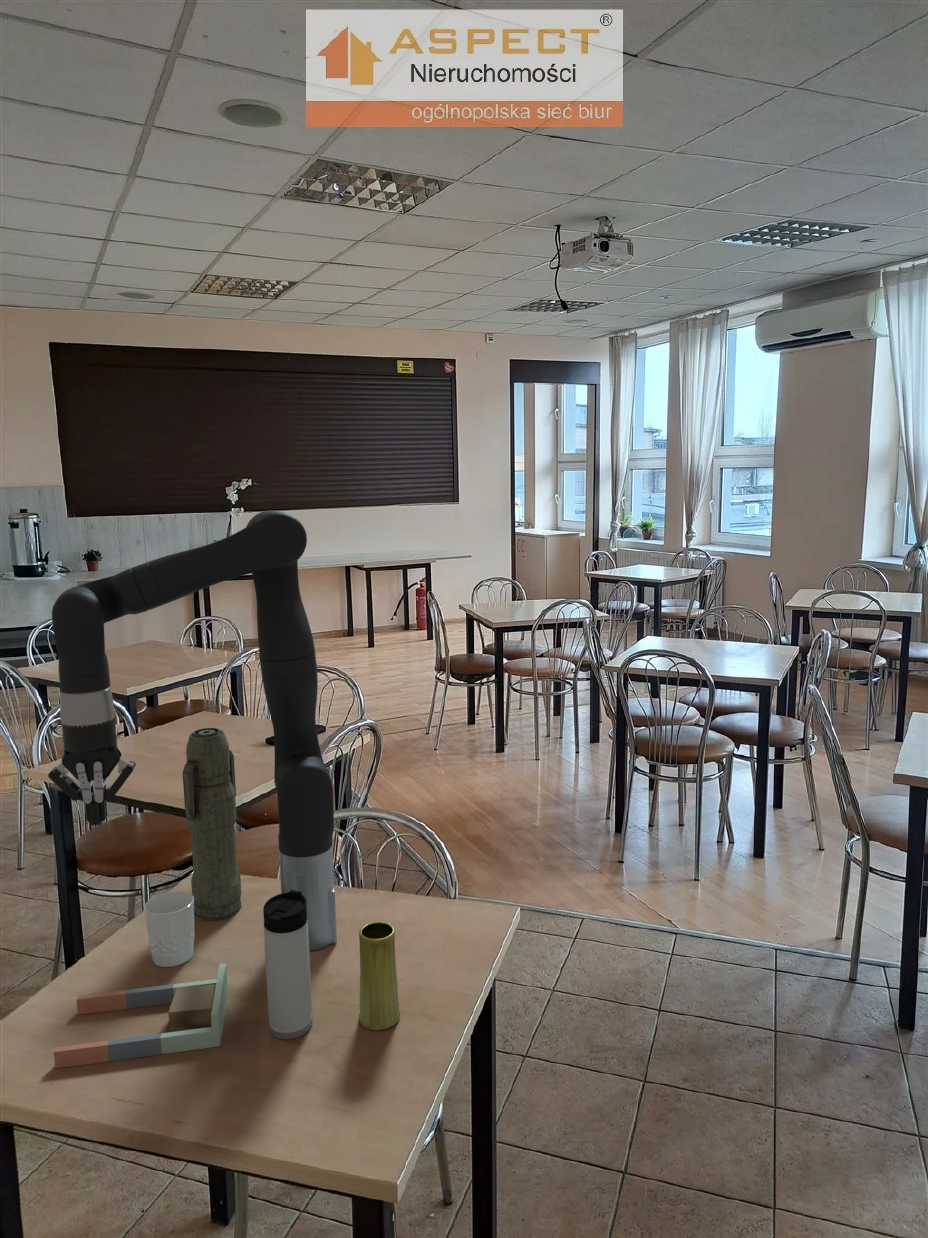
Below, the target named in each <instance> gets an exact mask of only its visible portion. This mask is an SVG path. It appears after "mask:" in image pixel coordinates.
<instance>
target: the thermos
mask: <svg viewBox="0 0 928 1238" xmlns="http://www.w3.org/2000/svg"><path fill="white" fill-rule="evenodd" d="M187 740H188V741H187V743H186V746H185V747H186V749H185V754H186V763H185V764H184V767H183V769H182V784H183V798H184V799H183V800H184V801H183V802H184V811H185V817H186V820H187V826H188V828H189V830H190V836H191V837H190V838H191V839H190V841H191V855H192V866H193V867H192V868H193V869H192V870H193V872H192V876H191V880H190V883H191V894H192V895H193V897H194V917H195V918H196V919H199V920H201V921H206V922H216V921H223V920H226V919H228V918H231V917H233V916H235V915H236V914H238V913H239V912H240V911H241V909H242V901H241V897H242V880H241V871H240V869H239V867H238V864H237V846H236V830H235V829H236V828H235V824H236V822H237V820H238V819H237V818H238V817H237V803H236V799H237V798H236V797H237V790H236V789H237V787H236V774H235V773H236V771H235V770H236V769H235V755H234V754H233V751H232V750H230V744H229V742H228V739H227V736H226V734H225V732H224V731H223V730H222V729H219V728H218V727H217V728H216V727H205V728H199V729H196V730H194V731H193V732H191V733H190V734H189V737H188V739H187Z"/></svg>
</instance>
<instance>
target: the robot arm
mask: <svg viewBox="0 0 928 1238" xmlns="http://www.w3.org/2000/svg"><path fill="white" fill-rule="evenodd" d="M307 544H308V537H307V532H306V529H305V526H304V525H303V523H301V521H300V520H299V519H298V518H296V517H295V516H293V514H291V513H288V512H285V511H281V510H275V509H273V510H264V511H259V512H258V513H257V514H255V515H254V516H253V517H251V519H250V520H249V521H248V523H247V524H246V527H244V528H242V529H240V530H238V531H237V532H235V533H233V534H232V535H229V536H227V537H224V538H222V539H220V540H217V541H214V542H211V543H209V544H206V545H201V546H199V547H196V548H191V549H187V550H182V551H180V552H179V551H178V552H175V553H172V554H169V555H165V556H162V557H158V558H156V559H152V560H149V561H147V562H144V563H141V564H138V565H136V566H133V567H130V568H128V569H125V570H123V571H121V572H119V573H116V574H115V575H114V574H113V575H111V576H107V577H102V578H99V579H95V580H92V581H88V582H86V583H82V584H79V585H76V586H73V587H71V588H68V589H66V590H64V591H63V592H62V593H61V594H59V596H58V598H56V601H55V602H54V603H53V605H52V608H51V609H52V611H51V619H52V620H51V623H52V629H53V637H54V641H55V646H56V647H55V648H56V651H57V652H56V653H57V655H58V679H59V689H60V690H59V691H60V693H59V694H60V700H59V701H60V702H59V706H60V707H59V710H60V713H59V719H60V720H61V731H62V741H63V742H62V743H63V756H62V758H61V762H60V763H59V765H57V766H54V767H53V768H51V770H50V771H49V773H47V774H48V776H47V777H48V779H50V780H51V781H52V783H54V784H55V785H56V786H57V787H58V788H59V789H61V791H62V792H63V793H64V794H65V795H67V796H68V797H69V798H70V800H72V801H74V802H76V801H80V802H83V803H84V808H85V819H86V821H87V822H88V823H90V825H91V826H100V825H102V824H103V823H104V822H105V821H106V820H107V817H108V805H107V804H108V803H107V801H108V799H111V798H114V797H115V796H116V794H117V793H118V792H119V791H120V789H121V788H122V787H123V785H124V784H125V782H126V781H127V780H128V778H129V777H130V776H131V774H132V773H133V771H134V770H135V768H136V767H137V764H136V762H135V761H133V760H130V761H129V760H127V759H125V758H124V757H122V752H121V751H120V749H119V747H118V741H117V740H118V739H117V729H116V728H117V726H116V715H115V704H114V703H115V702H114V698H113V693H112V688H111V679H110V676H111V675H110V667H109V660H108V656H107V654H106V644H105V643H106V642H105V641H106V639H105V624H106V623H109V622H111V621H114V620H116V619H119V618H122V617H124V616H127V615H139V614H141V613H146V612H148V611H150V610H154V609H156V608H159V607H161V606H164V605H166V604H170V603H171V602H175V601H177V600H180V599H182V598H184V597H186V596H189V595H191V594H192V595H193V594H194V593H196V592H199V591H201V590H203V589H206V588H209V587H211V586H212V587H213V586H214V585H216V584H219V583H222V582H225V581H229V580H231V579H232V580H233V579H234V578H238V577H242V576H245V575H249V574H251V575H252V579H253V585H254V589H255V590H254V591H255V599H256V625H257V629H256V630H257V642H258V656H259V662H260V663H259V665H260V673H261V680H262V686H263V691H264V695H265V700H266V704H267V709H268V713H269V715H270V718H271V724H272V728H273V741H274V742H273V743H274V773H273V775H274V776H273V777H274V778H273V779H274V786H275V790H276V795H277V808H278V809H277V810H278V814H277V815H278V837H277V838H278V840H277V841H278V859H279V860H278V861H279V874H280V876H279V877H280V878H279V879H280V894H282V893H287V892H289V891H290V890H295V891H301V892H302V895H303V896H304V897H305V898H306V902H307V919H308V938H309V952H312V951H316V950H321V949H323V948H325V947H327V946H329V945H333V944H337V943H338V937H337V935H338V933H337V915H336V914H337V912H336V911H337V910H336V889H335V874H334V873H335V869H334V849H333V848H334V845H333V844H334V842H333V839H334V838H333V835H334V829H335V819H334V818H335V817H334V816H335V813H334V811H335V810H334V788H333V781H332V778H331V775H330V773H329V771H328V769H327V767H326V765H325V761H324V759H323V756H322V752H321V747H320V742H319V737H318V731H317V723H316V713H317V704H318V703H317V702H318V685H319V684H318V683H319V682H318V681H319V680H318V666H317V657H316V647H315V642H314V637H313V633H312V630H311V625H310V623H309V619H308V615H307V612H306V609H305V606H304V604H303V600H302V597H301V595H302V594H301V591H300V585H299V584H300V583H299V582H300V581H299V569H298V566H299V565H298V562H299V559H300V558H302V556H303V554H304V553H305V550H306V547H307ZM117 765H118V768H117V773H118V774H119V775H118V777H116V779H115V780H114V782H113V783H112V784H111V786H110V787H108V788H107V786H108V785H107V784H108V778H109V777H110V775H111V774H112V772H113V771H114V769H115V768H116V766H117ZM69 774H71V775H72V776H73V777H74V778H75V779H76V780H77V781H78V783H79V785H78V783H76V782H75V781H74V780H73V779H72V778H71V777H70V776H69Z"/></svg>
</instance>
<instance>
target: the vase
mask: <svg viewBox="0 0 928 1238" xmlns="http://www.w3.org/2000/svg"><path fill="white" fill-rule="evenodd" d="M395 937H396V935H395V927H394V926H393V925H392V924H391V923H389V922H386V921H380V920H379V921H372V922H368V923H366V924H364V925H363V926H362V927H361V928H360V929H359V932H358V939H359V941H358V942H359V973H360V974H359V975H360V976H359V1014H358V1019H359V1023H360V1024H361V1025H362V1026H363V1027H364V1028H365V1029H368V1030H370V1031H377V1032H378V1031H385V1030H388V1029H390V1028H392V1027H394V1026H395V1025H396V1024H397V1023H398V1022H399V1020H400V1017H401V1013H400V1006H399V994H398V992H399V991H398V976H397V973H398V972H397V963H396V962H397V961H396V960H397V959H396V944H395V943H396V942H395V941H396V940H395V939H396V938H395Z"/></svg>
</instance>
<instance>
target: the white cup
mask: <svg viewBox="0 0 928 1238" xmlns="http://www.w3.org/2000/svg"><path fill="white" fill-rule="evenodd" d="M144 913H145V921H146V927H147V935H148V942H149V943H148V944H149V946H150V951H151V952H150V953H151V960H152V962H153V963H154V964H155V966H158V967H162V968H172V967H177V966H180V965H183V964H185V963H187V962H188V961H190V960H191V959H192V958H193V956H194V953H195V929H196V928H195V915H194V897H193V895H192V893H190V892H188V891H183V890H174V891H172V890H171V891H166V892H163V893H162V892H161V893H159V894H157V895H155V896H153V897H151V898H149V899H148V900H147V901H146V902H145V903H144Z"/></svg>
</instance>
